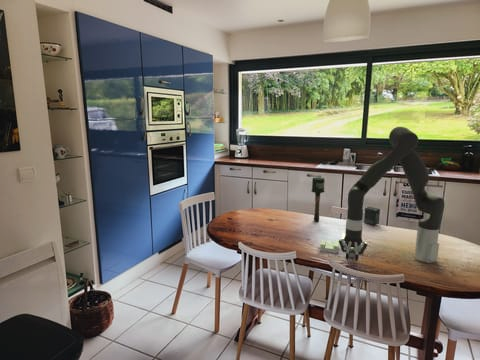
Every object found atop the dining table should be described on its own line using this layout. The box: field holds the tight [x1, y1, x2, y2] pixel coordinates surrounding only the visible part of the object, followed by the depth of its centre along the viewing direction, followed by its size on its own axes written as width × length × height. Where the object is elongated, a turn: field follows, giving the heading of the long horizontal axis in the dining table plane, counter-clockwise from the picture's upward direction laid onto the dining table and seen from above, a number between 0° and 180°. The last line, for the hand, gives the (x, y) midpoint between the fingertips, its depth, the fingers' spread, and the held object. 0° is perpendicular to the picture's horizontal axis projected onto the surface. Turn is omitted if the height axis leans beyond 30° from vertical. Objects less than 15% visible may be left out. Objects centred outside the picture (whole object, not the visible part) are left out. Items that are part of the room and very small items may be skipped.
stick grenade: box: [310, 176, 325, 223], centre depth 216 cm, size 8×9×30 cm
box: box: [363, 206, 381, 226], centre depth 214 cm, size 8×6×11 cm
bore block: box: [341, 233, 362, 251], centre depth 179 cm, size 12×10×4 cm
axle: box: [349, 247, 356, 260], centre depth 164 cm, size 18×3×3 cm, turn 161°
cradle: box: [319, 238, 340, 254], centre depth 175 cm, size 8×9×4 cm
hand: (351, 260), depth 158 cm, fingers closed on axle, 3 cm apart
